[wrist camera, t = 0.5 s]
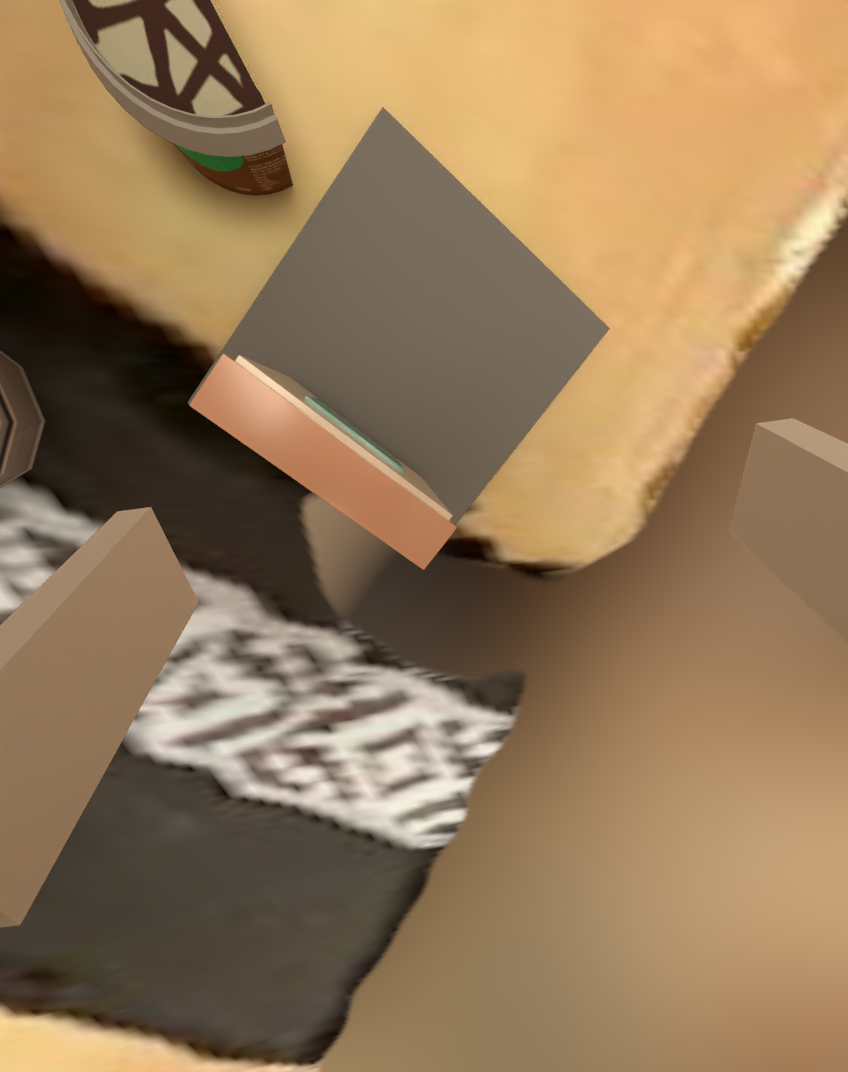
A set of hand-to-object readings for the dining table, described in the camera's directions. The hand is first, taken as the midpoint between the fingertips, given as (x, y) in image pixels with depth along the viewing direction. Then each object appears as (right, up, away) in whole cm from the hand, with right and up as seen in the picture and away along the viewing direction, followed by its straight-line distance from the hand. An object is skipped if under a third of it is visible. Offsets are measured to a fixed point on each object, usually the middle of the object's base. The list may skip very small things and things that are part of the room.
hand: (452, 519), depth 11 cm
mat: (-2, +12, +23) cm, 26 cm away
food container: (-14, +24, +18) cm, 34 cm away
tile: (-6, +6, +23) cm, 25 cm away
